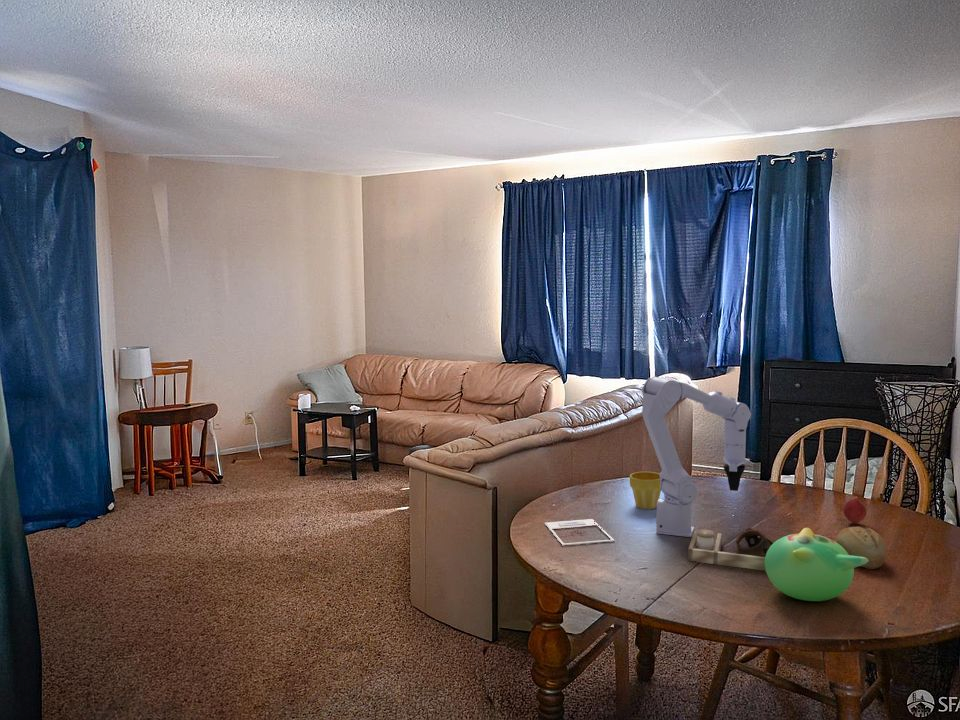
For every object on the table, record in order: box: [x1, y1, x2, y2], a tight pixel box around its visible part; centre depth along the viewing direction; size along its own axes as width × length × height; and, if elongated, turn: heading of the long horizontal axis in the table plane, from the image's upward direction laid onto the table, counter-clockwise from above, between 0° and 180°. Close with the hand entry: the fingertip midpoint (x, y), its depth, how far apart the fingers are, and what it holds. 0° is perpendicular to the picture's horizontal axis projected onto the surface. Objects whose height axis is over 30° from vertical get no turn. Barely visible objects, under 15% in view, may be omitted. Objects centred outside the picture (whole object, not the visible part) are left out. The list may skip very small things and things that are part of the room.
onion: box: [842, 496, 867, 525], centre depth 203 cm, size 6×6×8 cm
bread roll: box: [835, 525, 887, 570], centre depth 178 cm, size 10×15×8 cm, turn 1°
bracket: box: [687, 529, 766, 572], centre depth 182 cm, size 22×14×3 cm, turn 68°
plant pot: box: [629, 471, 662, 510], centre depth 223 cm, size 10×10×10 cm
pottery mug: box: [735, 527, 774, 557], centre depth 181 cm, size 12×10×8 cm
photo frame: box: [544, 518, 615, 547], centre depth 201 cm, size 15×1×18 cm
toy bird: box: [764, 527, 868, 602], centre depth 157 cm, size 18×17×15 cm
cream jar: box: [696, 529, 715, 551], centre depth 184 cm, size 4×4×6 cm
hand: (733, 490), depth 205 cm, fingers closed
